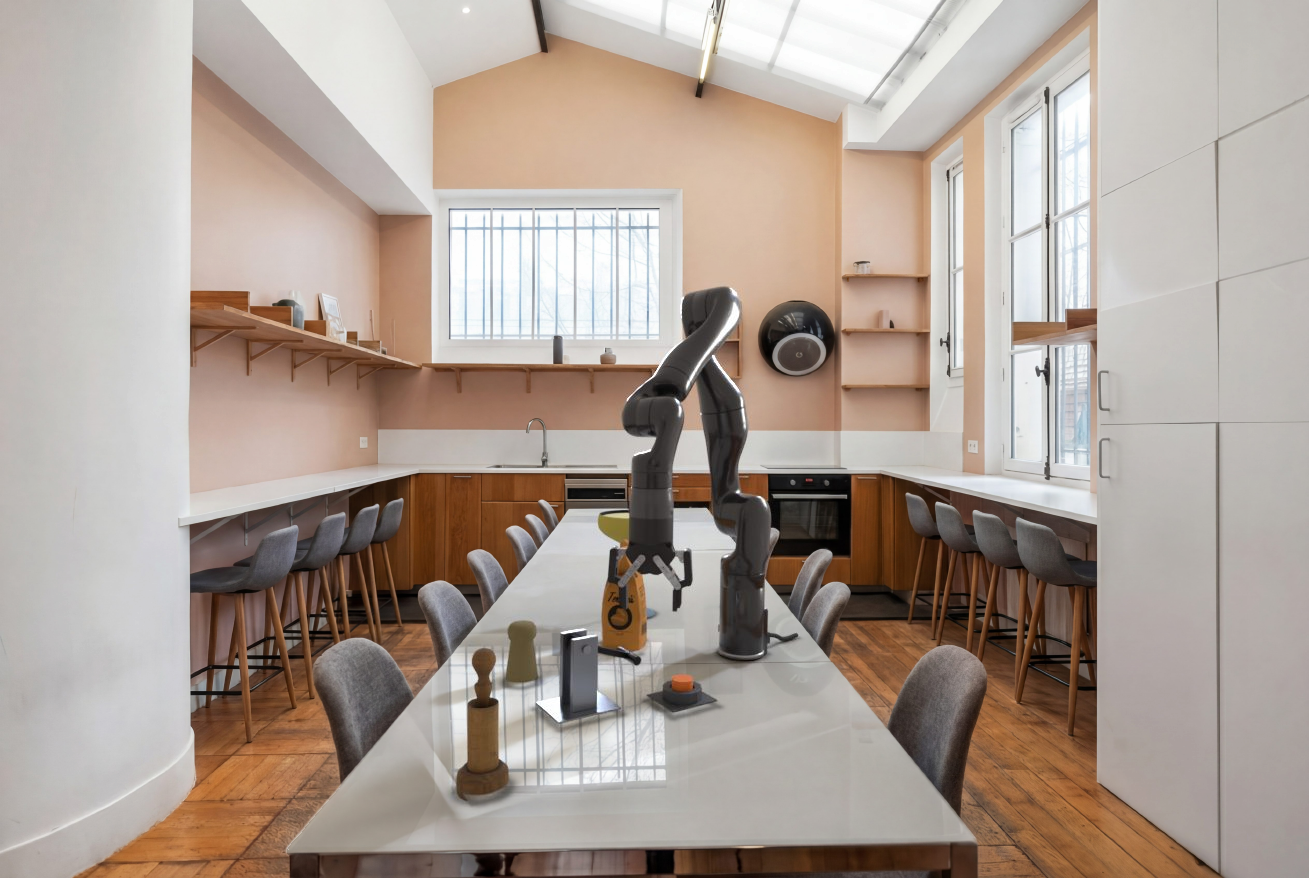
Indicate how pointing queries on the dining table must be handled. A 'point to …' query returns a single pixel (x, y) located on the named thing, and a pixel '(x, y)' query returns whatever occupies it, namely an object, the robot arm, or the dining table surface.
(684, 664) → the dining table surface
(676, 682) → the button
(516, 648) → the cork
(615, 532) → the cocktail glass
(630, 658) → the black t-handle
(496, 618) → the dining table surface
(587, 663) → the lever stand
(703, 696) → the control block
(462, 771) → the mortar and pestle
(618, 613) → the coffee package
